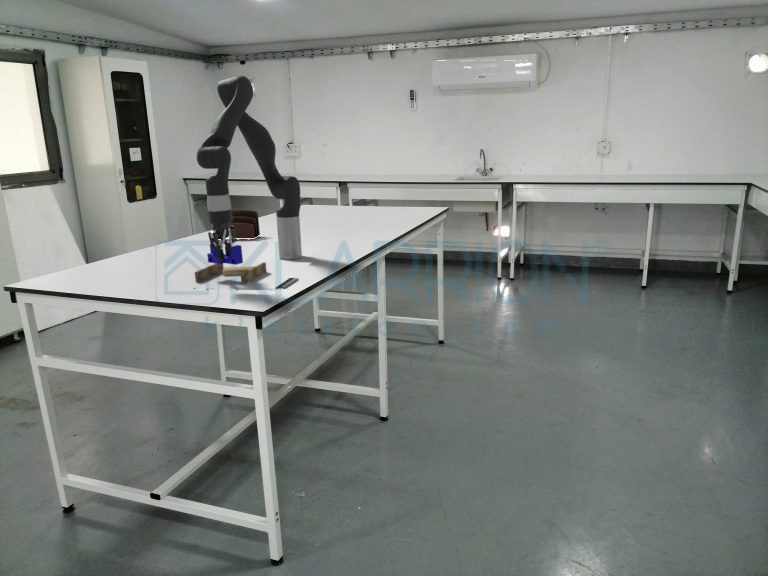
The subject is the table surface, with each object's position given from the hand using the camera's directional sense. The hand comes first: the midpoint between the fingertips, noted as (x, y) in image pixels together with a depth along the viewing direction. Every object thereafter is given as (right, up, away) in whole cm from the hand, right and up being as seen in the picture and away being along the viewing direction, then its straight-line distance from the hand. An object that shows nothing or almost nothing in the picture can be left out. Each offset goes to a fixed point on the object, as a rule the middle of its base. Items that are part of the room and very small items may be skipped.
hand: (225, 258), depth 188 cm
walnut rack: (+1, -8, +6) cm, 10 cm away
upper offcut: (+2, -5, +11) cm, 12 cm away
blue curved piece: (0, -2, 0) cm, 2 cm away
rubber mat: (+17, -8, +1) cm, 19 cm away
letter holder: (-20, +15, +91) cm, 95 cm away
